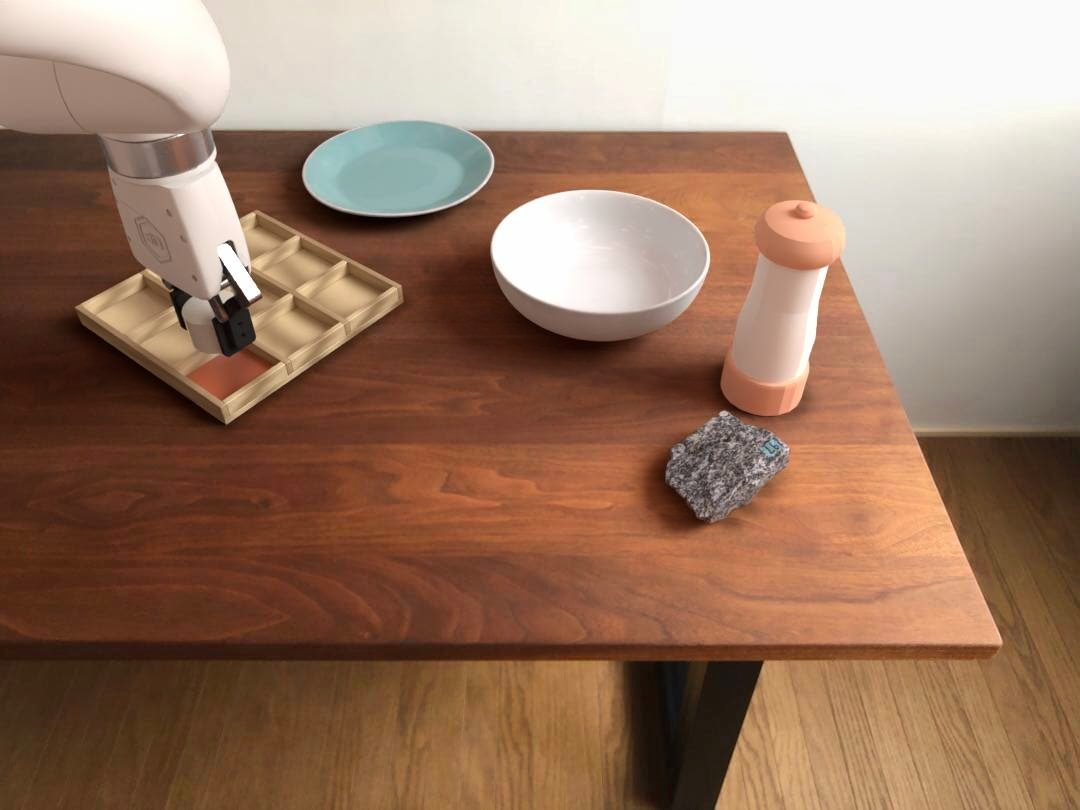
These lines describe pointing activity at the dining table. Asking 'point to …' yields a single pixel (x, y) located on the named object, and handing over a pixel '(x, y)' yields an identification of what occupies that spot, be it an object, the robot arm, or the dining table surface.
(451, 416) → the dining table surface
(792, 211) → the pepper shaker
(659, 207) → the serving bowl
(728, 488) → the rock
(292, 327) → the wooden compartment tray
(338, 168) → the plate
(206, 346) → the white cylinder puck
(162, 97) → the robot arm
